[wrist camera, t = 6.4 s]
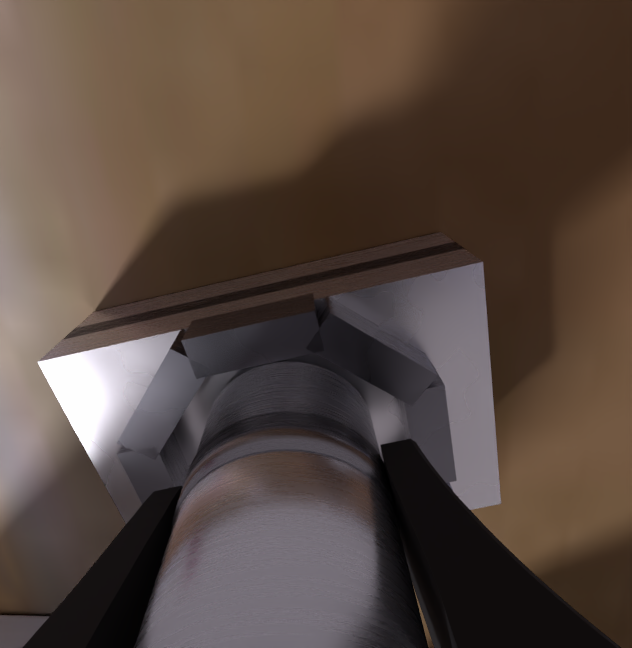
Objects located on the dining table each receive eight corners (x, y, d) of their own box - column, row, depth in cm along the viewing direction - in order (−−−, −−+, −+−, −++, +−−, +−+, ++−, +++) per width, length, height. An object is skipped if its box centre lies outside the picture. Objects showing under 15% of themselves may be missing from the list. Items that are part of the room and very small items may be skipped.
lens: (368, 349, 10) (457, 634, 4) (379, 489, 12) (455, 828, 6) (187, 371, 10) (42, 680, 4) (223, 507, 12) (152, 859, 6)
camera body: (440, 226, 12) (502, 268, 8) (463, 438, 15) (517, 538, 11) (91, 307, 13) (7, 379, 9) (179, 496, 16) (142, 609, 12)
